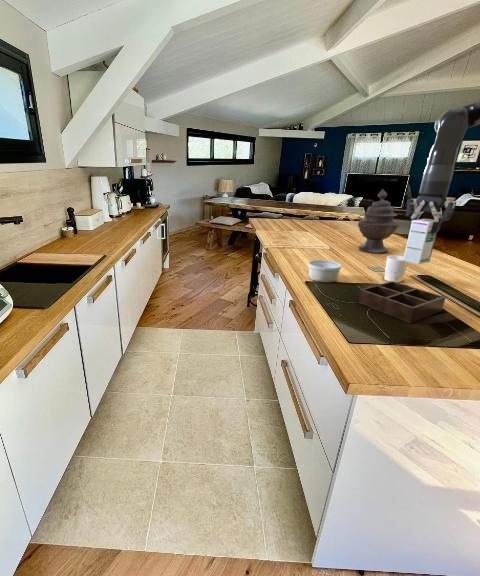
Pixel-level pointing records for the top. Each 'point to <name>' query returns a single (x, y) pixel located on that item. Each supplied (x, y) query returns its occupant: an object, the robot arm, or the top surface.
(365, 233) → the decorative urn
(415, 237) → the syrup box
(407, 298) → the rack
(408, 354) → the top surface
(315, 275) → the ramekin
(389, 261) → the white cup
